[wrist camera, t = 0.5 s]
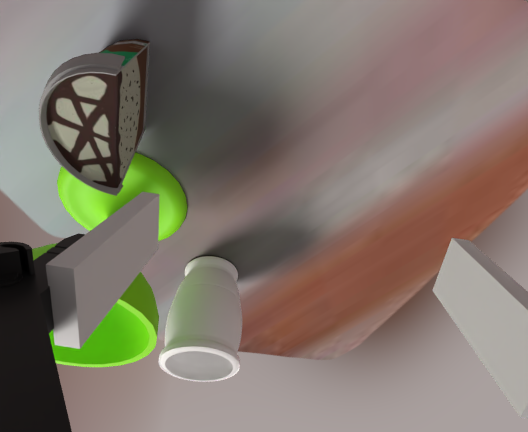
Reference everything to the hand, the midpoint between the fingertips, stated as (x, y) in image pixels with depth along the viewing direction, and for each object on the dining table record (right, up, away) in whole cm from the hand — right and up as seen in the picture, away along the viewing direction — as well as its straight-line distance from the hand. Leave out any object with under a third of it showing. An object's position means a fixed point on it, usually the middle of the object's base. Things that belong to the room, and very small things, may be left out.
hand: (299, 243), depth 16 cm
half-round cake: (-16, +15, +19) cm, 29 cm away
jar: (-10, -7, +40) cm, 41 cm away
